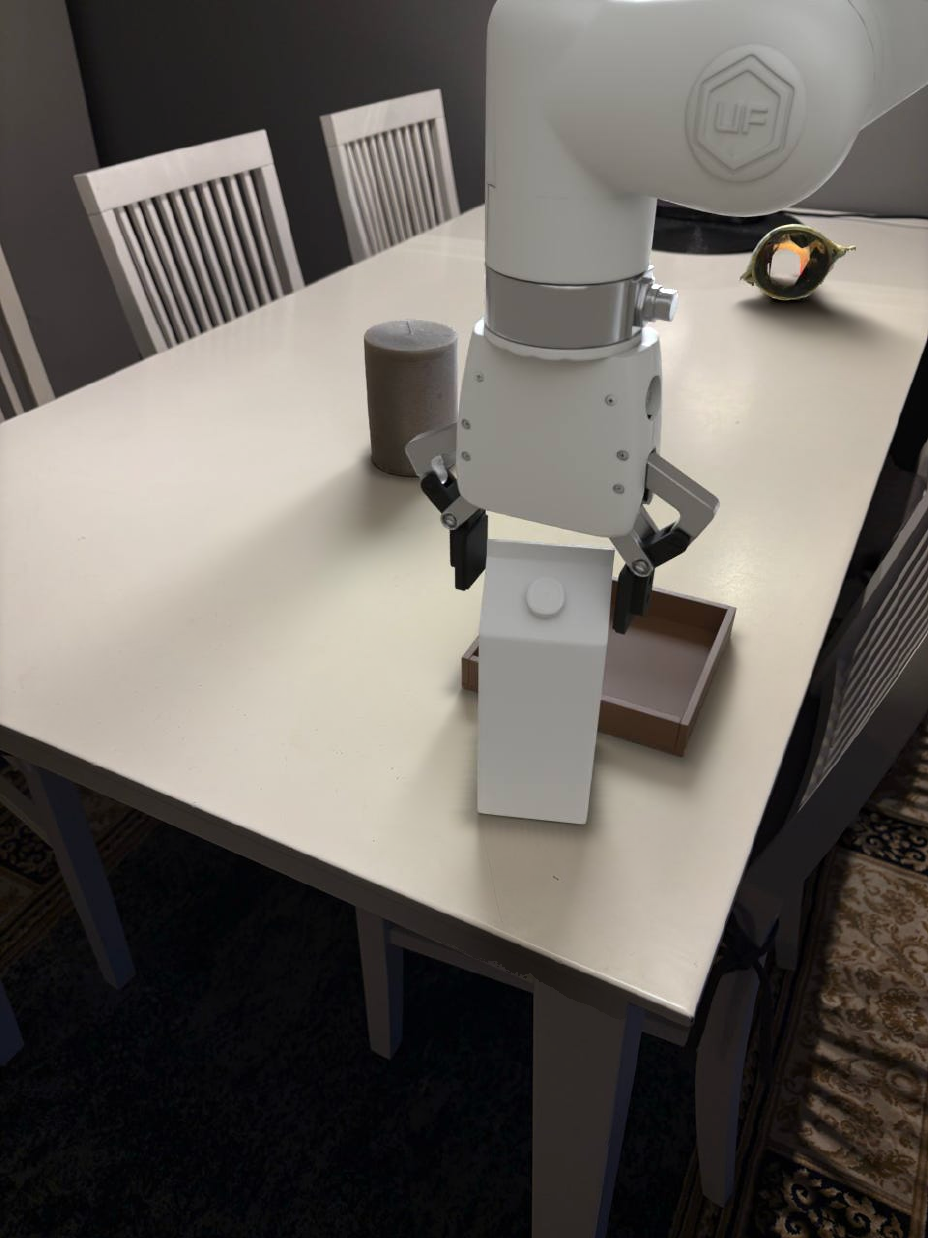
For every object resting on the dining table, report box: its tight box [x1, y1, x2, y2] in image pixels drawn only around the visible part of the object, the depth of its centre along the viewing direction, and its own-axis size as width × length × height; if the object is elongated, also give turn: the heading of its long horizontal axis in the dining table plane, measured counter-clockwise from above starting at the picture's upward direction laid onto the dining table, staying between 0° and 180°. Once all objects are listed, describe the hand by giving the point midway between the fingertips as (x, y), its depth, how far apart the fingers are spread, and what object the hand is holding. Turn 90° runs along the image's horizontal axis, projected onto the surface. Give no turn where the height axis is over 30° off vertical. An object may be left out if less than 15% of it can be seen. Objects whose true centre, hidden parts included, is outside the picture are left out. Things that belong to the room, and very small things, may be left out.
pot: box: [738, 223, 858, 301], centre depth 145 cm, size 17×11×18 cm
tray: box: [461, 575, 738, 758], centre depth 71 cm, size 17×15×3 cm
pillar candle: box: [363, 318, 460, 477], centre depth 96 cm, size 10×10×15 cm
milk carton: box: [476, 538, 616, 825], centre depth 56 cm, size 7×7×19 cm
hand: (546, 598), depth 53 cm, fingers open, 9 cm apart
